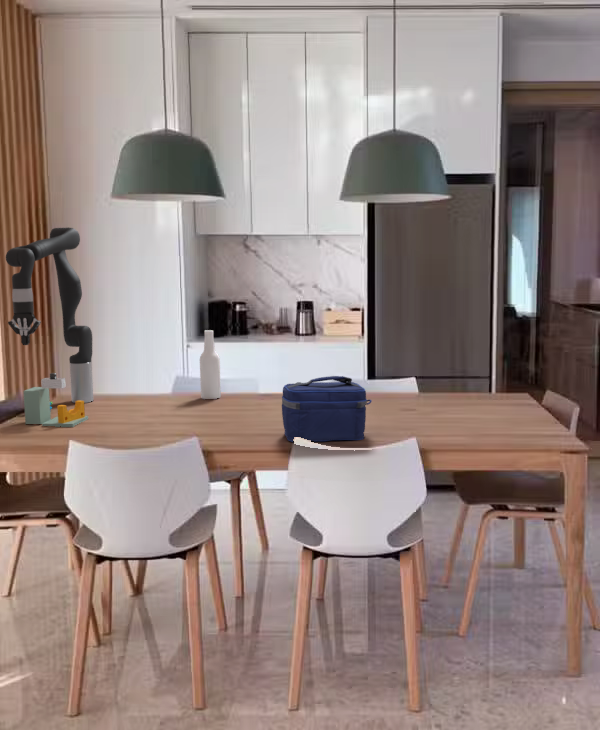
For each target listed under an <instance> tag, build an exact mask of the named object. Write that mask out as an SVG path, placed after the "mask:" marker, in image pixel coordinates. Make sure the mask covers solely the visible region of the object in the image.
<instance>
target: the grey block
mask: <svg viewBox="0 0 600 730" xmlns="http://www.w3.org/2000/svg"><path fill="white" fill-rule="evenodd" d="M40 380H41V381H40V383H41V387H42V388H49V389H64V388H66V387H67V386H66V385H67V384H66V377H57V373H56V372H51V373H49V377H44V378H42V379H40Z"/></svg>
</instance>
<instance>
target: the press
mask: <svg viewBox="0 0 600 730" xmlns="http://www.w3.org/2000/svg"><path fill="white" fill-rule="evenodd" d="M50 400H51V399H50V388H42V386H33V387H30V388H27V389H25V390H23V402H24V403H23V405H24V407H23V408H24V420H25V422H24V423H25V425H26V424H42V425H41V426H55V427H54V428H74V427H76V426H77V424H78V425H80V424H82V423H83V422H85V421H87V420H89V415H85V417H84V418H80V419H77V420H73V421H70V422H66V423H58V415H57V416H55V417H53V418H52V415H51V412H50V411H51V410H50V406H51V405H50V402H51V401H50ZM81 422H82V423H81ZM79 423H80V424H79ZM75 425H76V426H75ZM60 426H61V427H60Z"/></svg>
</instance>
